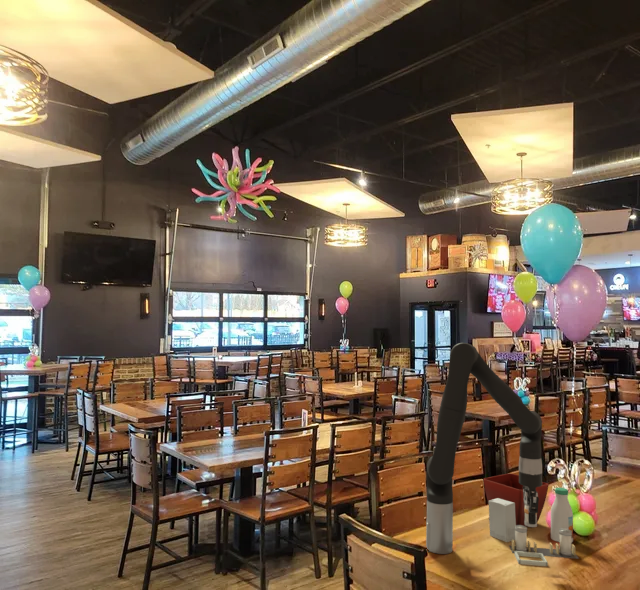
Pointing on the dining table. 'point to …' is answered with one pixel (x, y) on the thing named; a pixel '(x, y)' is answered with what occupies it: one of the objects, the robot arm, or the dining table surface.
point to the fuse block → (546, 550)
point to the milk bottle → (561, 514)
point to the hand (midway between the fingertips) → (530, 521)
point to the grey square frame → (530, 562)
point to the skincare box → (502, 519)
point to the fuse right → (565, 542)
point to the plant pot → (513, 493)
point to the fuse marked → (527, 516)
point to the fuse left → (521, 538)
